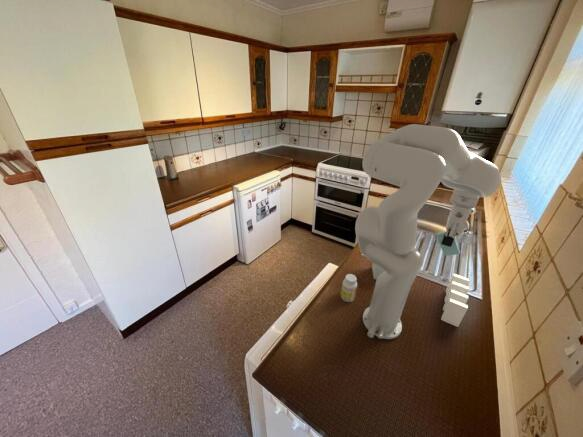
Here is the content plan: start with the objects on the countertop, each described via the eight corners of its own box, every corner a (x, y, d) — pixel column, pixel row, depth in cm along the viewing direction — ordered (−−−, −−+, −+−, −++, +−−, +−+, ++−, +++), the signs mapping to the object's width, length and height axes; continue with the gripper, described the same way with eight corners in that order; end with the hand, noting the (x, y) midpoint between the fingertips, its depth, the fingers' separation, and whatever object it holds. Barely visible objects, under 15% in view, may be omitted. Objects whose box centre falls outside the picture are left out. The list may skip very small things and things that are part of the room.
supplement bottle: (344, 303, 88) (348, 284, 83) (337, 293, 92) (340, 274, 87) (357, 300, 89) (361, 281, 84) (350, 290, 94) (353, 271, 89)
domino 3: (459, 307, 87) (468, 289, 82) (444, 301, 89) (452, 283, 85) (459, 304, 88) (468, 286, 84) (444, 298, 90) (452, 280, 86)
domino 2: (460, 299, 90) (469, 281, 86) (445, 293, 93) (453, 275, 89) (460, 296, 92) (469, 278, 87) (445, 290, 94) (453, 273, 90)
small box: (387, 281, 98) (393, 261, 93) (373, 279, 99) (378, 259, 94) (384, 268, 105) (389, 249, 100) (371, 267, 106) (376, 247, 101)
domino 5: (457, 327, 80) (467, 308, 75) (440, 319, 82) (449, 301, 78) (458, 323, 81) (467, 305, 76) (441, 316, 83) (450, 298, 79)
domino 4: (458, 317, 83) (468, 298, 79) (442, 310, 86) (450, 291, 81) (459, 313, 84) (468, 295, 80) (443, 307, 87) (451, 289, 83)
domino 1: (459, 254, 87) (451, 232, 86) (444, 255, 91) (436, 234, 89) (459, 252, 88) (452, 230, 87) (444, 253, 92) (437, 232, 90)
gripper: (477, 210, 73) (456, 258, 82) (477, 194, 84) (459, 238, 93) (449, 204, 77) (432, 250, 86) (453, 190, 88) (437, 232, 97)
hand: (446, 243), depth 89 cm, fingers closed on domino 1, 1 cm apart
